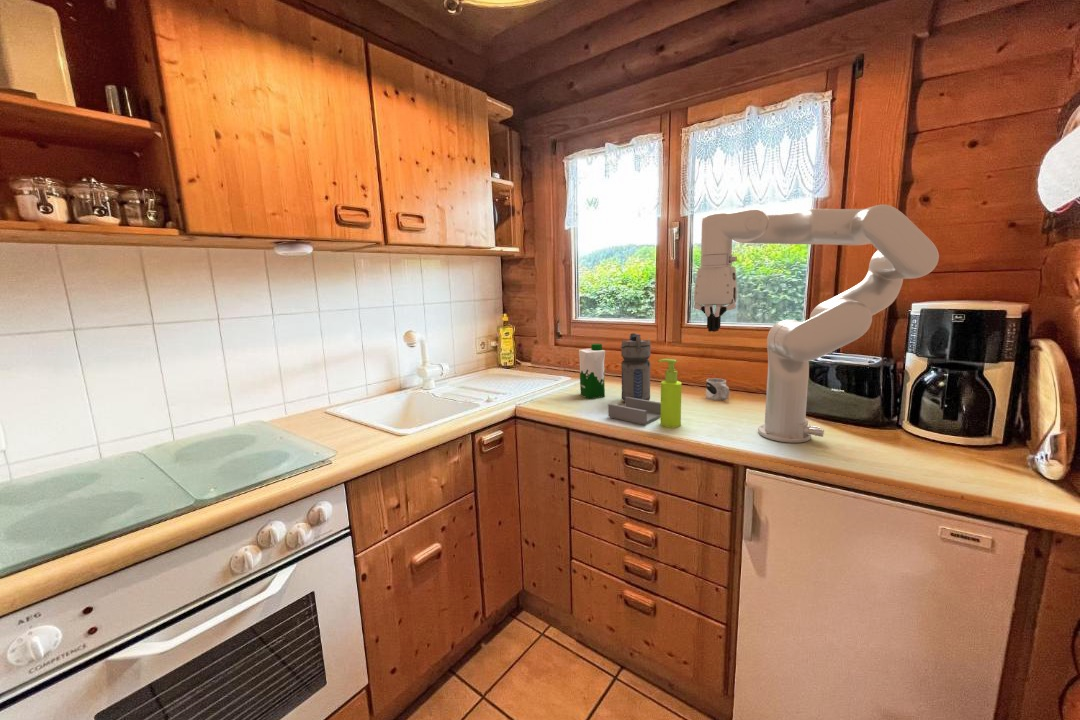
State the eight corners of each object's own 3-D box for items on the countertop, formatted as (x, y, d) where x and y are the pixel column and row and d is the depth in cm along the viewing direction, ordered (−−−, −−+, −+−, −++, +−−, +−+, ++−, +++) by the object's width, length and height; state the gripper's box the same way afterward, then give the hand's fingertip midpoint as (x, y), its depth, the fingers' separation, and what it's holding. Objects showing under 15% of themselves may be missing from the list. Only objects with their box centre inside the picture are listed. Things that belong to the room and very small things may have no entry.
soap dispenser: (662, 419, 134) (662, 356, 130) (683, 423, 130) (685, 358, 126) (654, 424, 130) (654, 360, 126) (676, 428, 125) (677, 362, 122)
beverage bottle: (645, 395, 162) (646, 330, 157) (653, 405, 149) (653, 334, 144) (618, 396, 162) (618, 331, 158) (624, 406, 149) (623, 335, 145)
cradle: (662, 416, 137) (662, 402, 136) (644, 425, 129) (644, 411, 128) (627, 409, 146) (626, 396, 145) (608, 417, 138) (608, 404, 137)
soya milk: (608, 397, 162) (607, 345, 158) (586, 400, 159) (585, 347, 156) (598, 391, 170) (597, 342, 167) (577, 394, 168) (576, 344, 164)
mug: (702, 396, 158) (702, 379, 157) (717, 394, 160) (718, 377, 158) (719, 403, 148) (720, 385, 147) (736, 401, 150) (736, 383, 149)
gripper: (750, 260, 111) (747, 330, 114) (694, 263, 121) (692, 328, 124) (740, 260, 105) (737, 334, 108) (682, 263, 115) (681, 331, 118)
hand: (713, 330), depth 116 cm, fingers closed
